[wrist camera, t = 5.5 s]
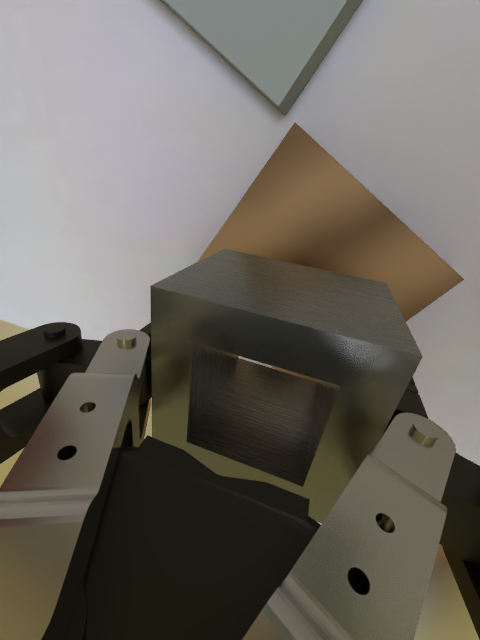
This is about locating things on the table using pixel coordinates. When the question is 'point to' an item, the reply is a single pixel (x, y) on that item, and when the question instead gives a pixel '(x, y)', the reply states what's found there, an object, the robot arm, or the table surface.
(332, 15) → the square plate
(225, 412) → the recessed metal cube
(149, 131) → the table surface
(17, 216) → the table surface
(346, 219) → the stand
